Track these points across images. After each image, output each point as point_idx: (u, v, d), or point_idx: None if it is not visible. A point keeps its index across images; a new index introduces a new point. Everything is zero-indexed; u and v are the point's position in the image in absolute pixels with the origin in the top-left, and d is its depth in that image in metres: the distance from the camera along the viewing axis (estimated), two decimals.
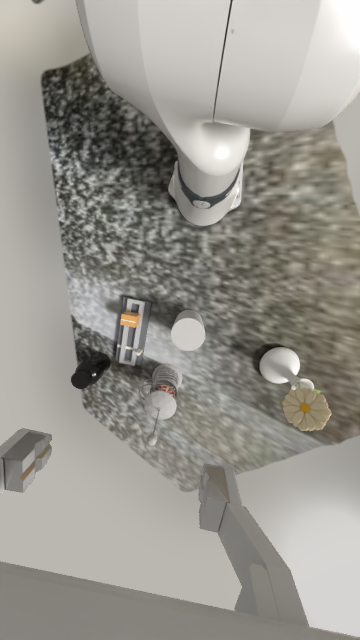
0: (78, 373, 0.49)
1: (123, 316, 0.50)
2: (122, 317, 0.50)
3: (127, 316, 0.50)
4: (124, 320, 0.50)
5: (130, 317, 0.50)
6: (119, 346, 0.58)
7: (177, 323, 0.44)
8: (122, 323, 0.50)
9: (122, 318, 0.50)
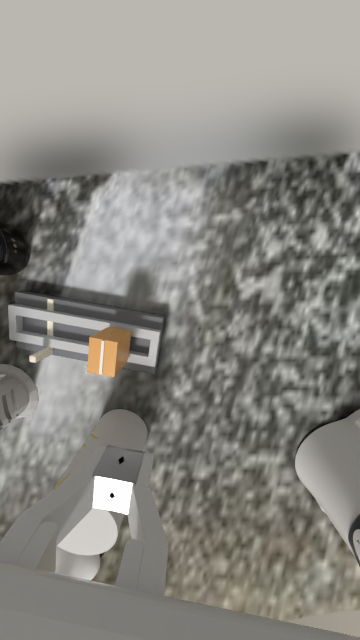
0: None
1: (111, 346, 0.20)
2: (108, 343, 0.19)
3: (112, 356, 0.20)
4: (101, 348, 0.20)
5: (111, 363, 0.20)
6: (48, 302, 0.25)
7: (101, 509, 0.18)
8: (93, 342, 0.20)
9: (106, 343, 0.19)
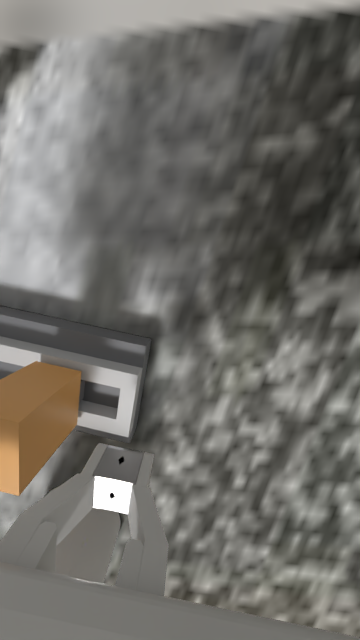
0: None
1: (4, 431, 0.08)
2: None
3: (10, 452, 0.08)
4: None
5: (8, 467, 0.08)
6: None
7: None
8: None
9: None
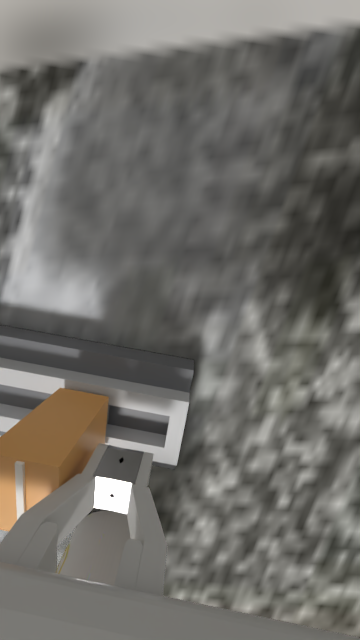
0: None
1: (43, 475, 0.07)
2: (35, 469, 0.07)
3: None
4: (17, 480, 0.07)
5: None
6: None
7: None
8: None
9: (28, 470, 0.07)
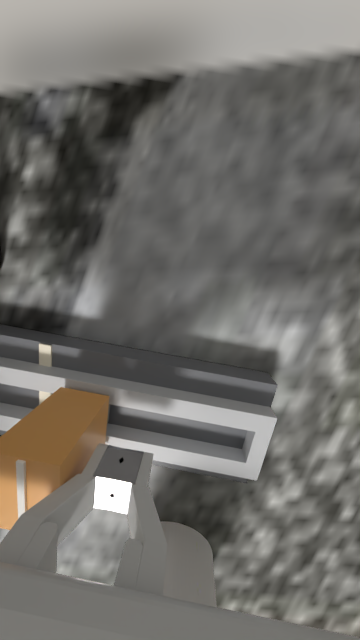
0: None
1: (44, 474, 0.07)
2: (36, 468, 0.07)
3: None
4: (18, 479, 0.07)
5: None
6: (42, 351, 0.12)
7: None
8: None
9: (29, 468, 0.07)
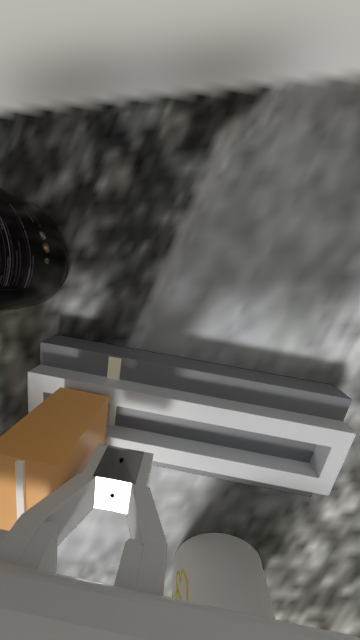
0: None
1: (43, 475, 0.07)
2: (35, 468, 0.07)
3: None
4: (17, 479, 0.07)
5: None
6: (110, 364, 0.12)
7: None
8: None
9: (28, 469, 0.07)
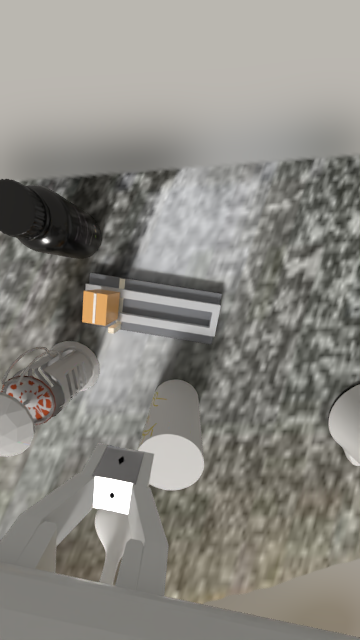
0: (32, 205, 0.17)
1: (102, 298, 0.23)
2: (99, 296, 0.23)
3: (103, 307, 0.24)
4: (94, 300, 0.23)
5: (102, 313, 0.24)
6: (120, 282, 0.28)
7: (191, 445, 0.22)
8: (87, 295, 0.23)
9: (97, 296, 0.23)
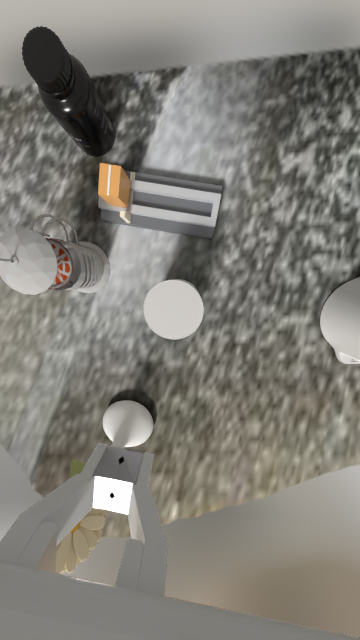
0: (62, 52, 0.20)
1: (116, 170, 0.27)
2: (114, 167, 0.26)
3: (117, 178, 0.27)
4: (108, 172, 0.27)
5: (115, 185, 0.27)
6: (131, 175, 0.32)
7: (193, 291, 0.25)
8: (102, 167, 0.27)
9: (112, 167, 0.26)
